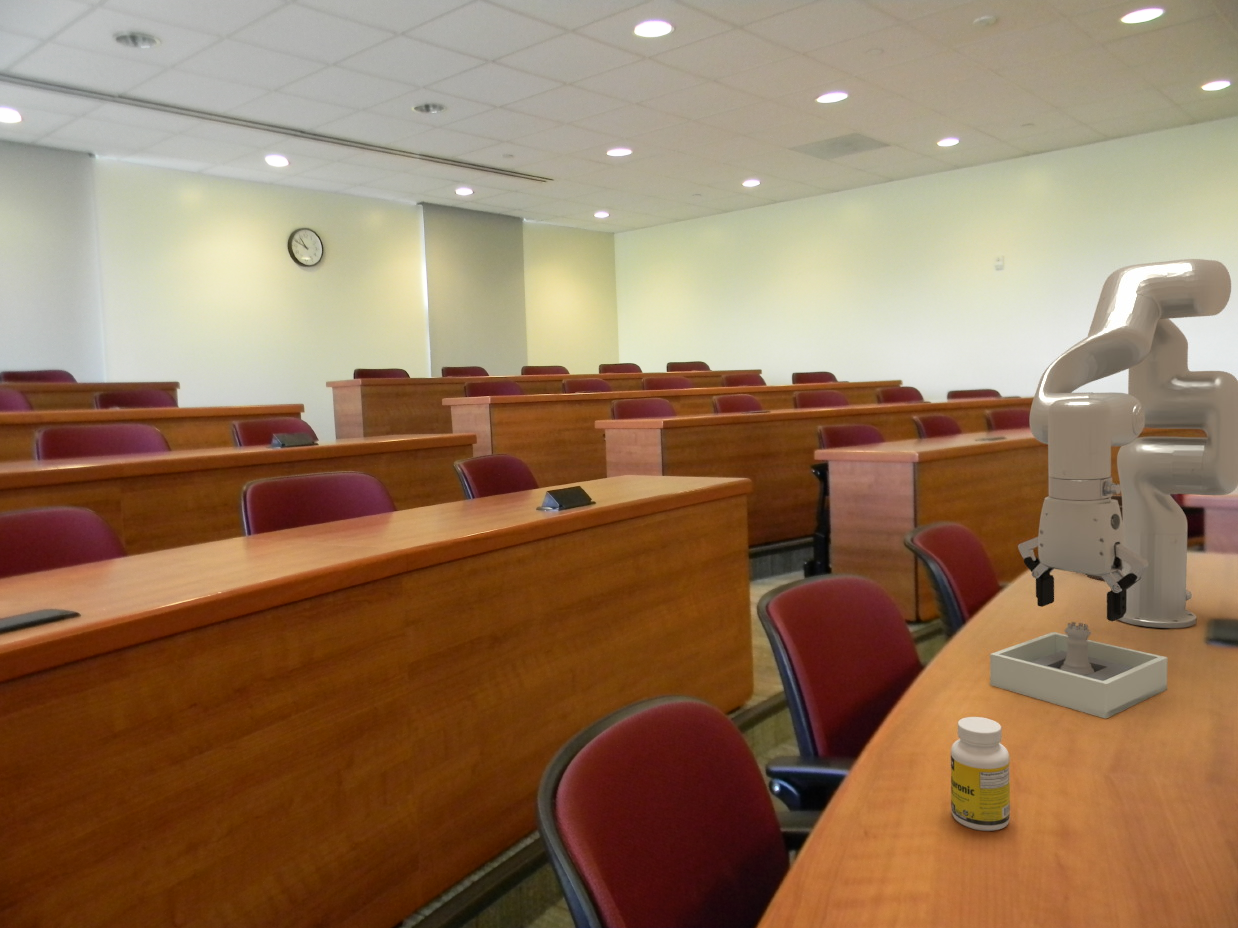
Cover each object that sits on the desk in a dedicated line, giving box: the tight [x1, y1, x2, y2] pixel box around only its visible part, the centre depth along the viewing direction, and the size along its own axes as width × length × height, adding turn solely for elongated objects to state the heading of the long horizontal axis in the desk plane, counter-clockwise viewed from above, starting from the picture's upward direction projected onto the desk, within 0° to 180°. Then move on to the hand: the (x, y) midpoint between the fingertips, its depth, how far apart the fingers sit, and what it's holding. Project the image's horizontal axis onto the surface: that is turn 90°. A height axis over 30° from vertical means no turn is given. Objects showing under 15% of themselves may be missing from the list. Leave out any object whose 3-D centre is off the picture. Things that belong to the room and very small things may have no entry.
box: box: [989, 631, 1168, 719], centre depth 121 cm, size 16×16×4 cm
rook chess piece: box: [1060, 621, 1094, 676], centre depth 121 cm, size 4×4×8 cm
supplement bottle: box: [950, 716, 1011, 832], centre depth 87 cm, size 5×5×10 cm
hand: (1079, 611), depth 121 cm, fingers open, 9 cm apart
